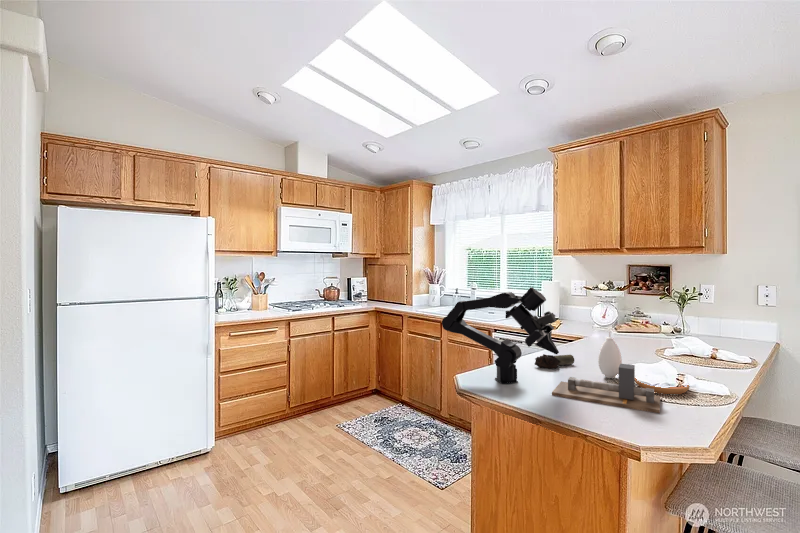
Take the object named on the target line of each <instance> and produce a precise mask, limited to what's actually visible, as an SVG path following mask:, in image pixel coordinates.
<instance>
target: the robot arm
mask: <svg viewBox="0 0 800 533" xmlns="http://www.w3.org/2000/svg"><path fill="white" fill-rule="evenodd" d="M546 301H547V299H546V297H545V295H544V294H543V293H541V292H540V291H538V290H537V289H536V288H534V287H530V288H529V289H528V290H527V291H526V292H525V293H524V294H523V295H522V296H521V295H516V294H515V293H514V292H512V291H506V292H502V293H498V294H495V295H493V296H490V297H484V298H479V299H471V300H460V301H458V302H456V303H455V305H454V307H453V308H452V309H451V310H450V311H449V312H448V313H447V315H446V316H445V317H443V318H442V320H441V326H442V329H443V330H445V331H447V332H450V333H452V334H460V335H463V336H465V337H466V338H468V339H470V340H472V341H474V342H476V343H478V344H479V345H480V346H481V345H482V346H483V347H485V348H486V349H488V350H491V351H492V352H494V354H495V355H496V356H497V358H496V359H495V360H494V363H495V366H496V377H494V380H495V381H497V382H499V383H500V384H502V385H505V384H506V385H507V384H517V383H519V380H518V369H517V366H516V363H517V360H519V359H520V358H521V356H522V349H521V347H520V346H518V343H516V342H513V341H512V340H509V338H506V339H503V340H498V339H496V338H495V337H492V336H490V335H489V334H486V333H484V332H482V331H480V330H478V329H477V328H475V327H472V326H471V325H469V324H468V323H467V322H466V321H465V320H464V317H465V315H466V312H467V311H470V310H479V309H480V310H481V309H487V308H493V309H508V308H511V309H509V310H506V311H505V317H504V318H505V319H507V320H508V319H509V318H513V319H514V320H515V321H516V323H517V324H518V325H519V326H520V327H519V328H520V330H522V331H523V330H524V331H525V332H526V333H527V335H528V336H527V337H526V338H525V340H524V343H525V345H526V346H527V347H528V348H530V347H531V346H532V345H533V344H534V346H536V347H539V348H541V349H544V350H545V351H548V352H550V353H551V354H552V353H553V354H554V355H558V354H559V353H560V351H559V349H558V348H557V346H556V344H555V342H554V340H553V339H552V331H553V330H554V329H555V327H554V326H553V325H552V324H553V323H555V322H557V318H556V314H554V312H551V311H549V310H548V311H546V312H544V314H543V316H541V317H538V316H537V315H533V314H532V313H531V311H532V312H536V310H538V309H539V308H540V307H541V306H542V305H543V304H544V303H545V302H546ZM517 304H518V305H517ZM535 342H536V343H535Z"/></svg>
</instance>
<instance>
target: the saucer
mask: <svg viewBox="0 0 800 533" xmlns="http://www.w3.org/2000/svg"><path fill="white" fill-rule="evenodd" d="M636 384H637V387H639V388H641V387H642V388H645V389H647V388H651V389H654V392H657V393H656V394H658V393H663V394H662V395H665V394H680V395H683V394H685V393H686V392H687V391H688V390H689V389H690V386H689V385H690V384H689V385H687V387H683V386H681V387H670V388H661V387H655V386H650V385H647V384H644V383H641V382H639V381H637V379H636V378H635V385H636ZM682 393H683V394H682Z"/></svg>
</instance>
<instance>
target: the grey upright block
mask: <svg viewBox="0 0 800 533" xmlns="http://www.w3.org/2000/svg"><path fill="white" fill-rule="evenodd" d="M635 366H636V365H635V364H627V363H622V364H620V365H619V374H618V385H619V398H623V399H630V400H634V396H635V395H634V387H636V383H635V377H636V375H635V373H636V372H635V370H636V369H635Z"/></svg>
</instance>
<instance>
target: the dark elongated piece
mask: <svg viewBox="0 0 800 533" xmlns="http://www.w3.org/2000/svg"><path fill="white" fill-rule="evenodd" d="M534 360H535V362H534V366H537V368H538V367H539V368H544V369H552V370H553V369H557V368H558V367H559V366H566V365H569V366H570V365H574V363H575V358H574V355H573V354H561V355H558V354H557V355H551V354H542V355H539V356H537V357H535V358H534Z"/></svg>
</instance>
